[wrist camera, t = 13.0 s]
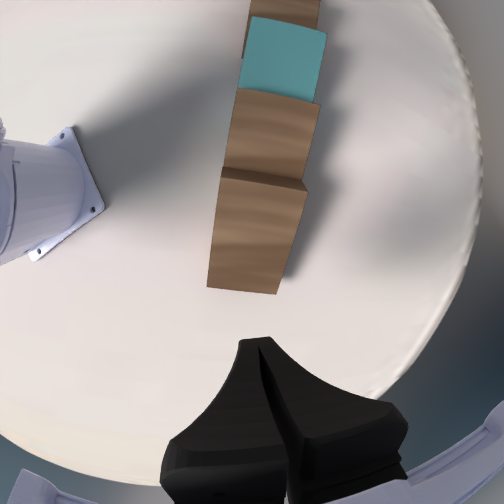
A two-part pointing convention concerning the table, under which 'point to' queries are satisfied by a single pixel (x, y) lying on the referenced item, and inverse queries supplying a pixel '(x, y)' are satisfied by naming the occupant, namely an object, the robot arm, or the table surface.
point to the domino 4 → (254, 230)
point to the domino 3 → (270, 133)
